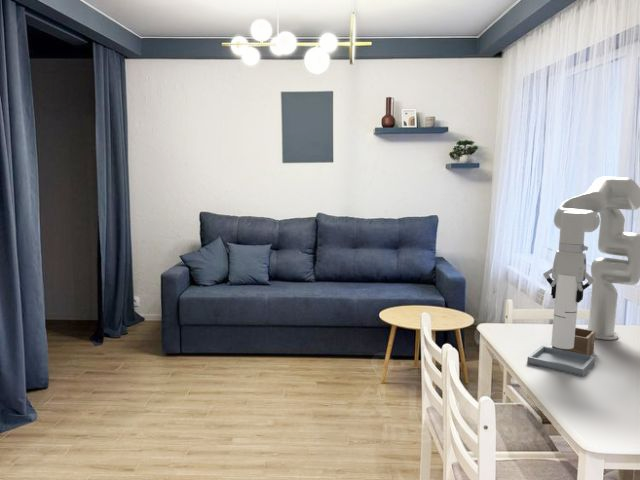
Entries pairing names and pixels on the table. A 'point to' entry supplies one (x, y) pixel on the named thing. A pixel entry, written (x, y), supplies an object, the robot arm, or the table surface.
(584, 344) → the walnut box
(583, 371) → the slate tray
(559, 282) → the cylindrical container
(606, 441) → the table surface
